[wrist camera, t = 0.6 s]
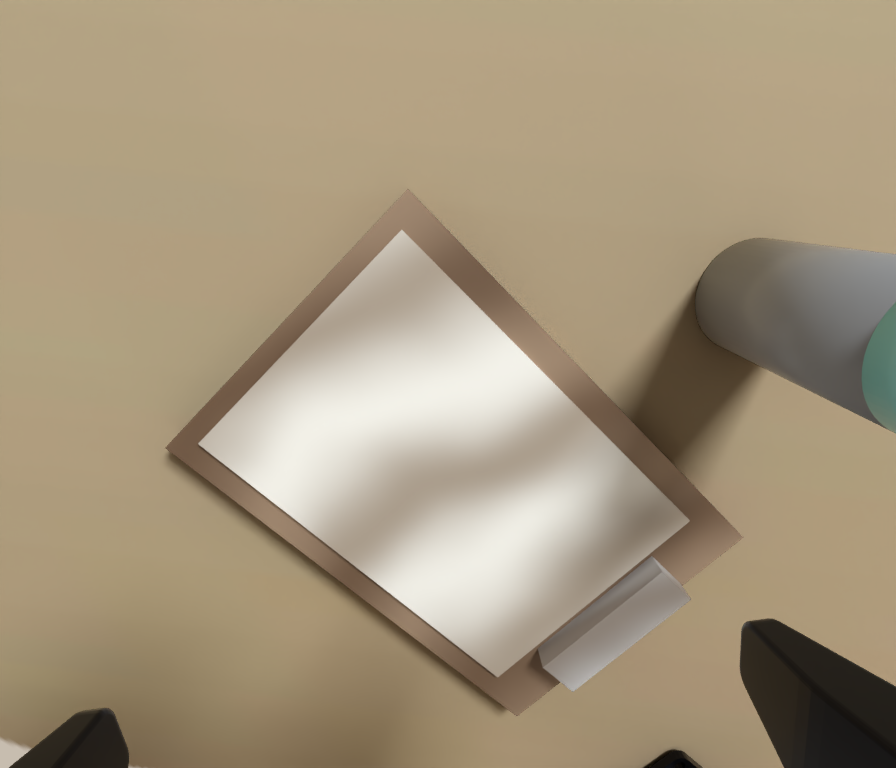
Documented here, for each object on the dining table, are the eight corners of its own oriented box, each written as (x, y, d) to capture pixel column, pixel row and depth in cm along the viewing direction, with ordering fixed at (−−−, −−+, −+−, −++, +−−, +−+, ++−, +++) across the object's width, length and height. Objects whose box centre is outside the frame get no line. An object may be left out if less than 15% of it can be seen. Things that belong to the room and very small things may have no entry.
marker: (827, 295, 21) (1182, 382, 11) (738, 372, 21) (998, 516, 12) (765, 212, 20) (1096, 229, 10) (672, 296, 20) (900, 386, 11)
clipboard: (729, 523, 23) (758, 552, 21) (513, 696, 25) (521, 737, 24) (408, 189, 19) (407, 188, 17) (176, 436, 21) (152, 460, 19)
